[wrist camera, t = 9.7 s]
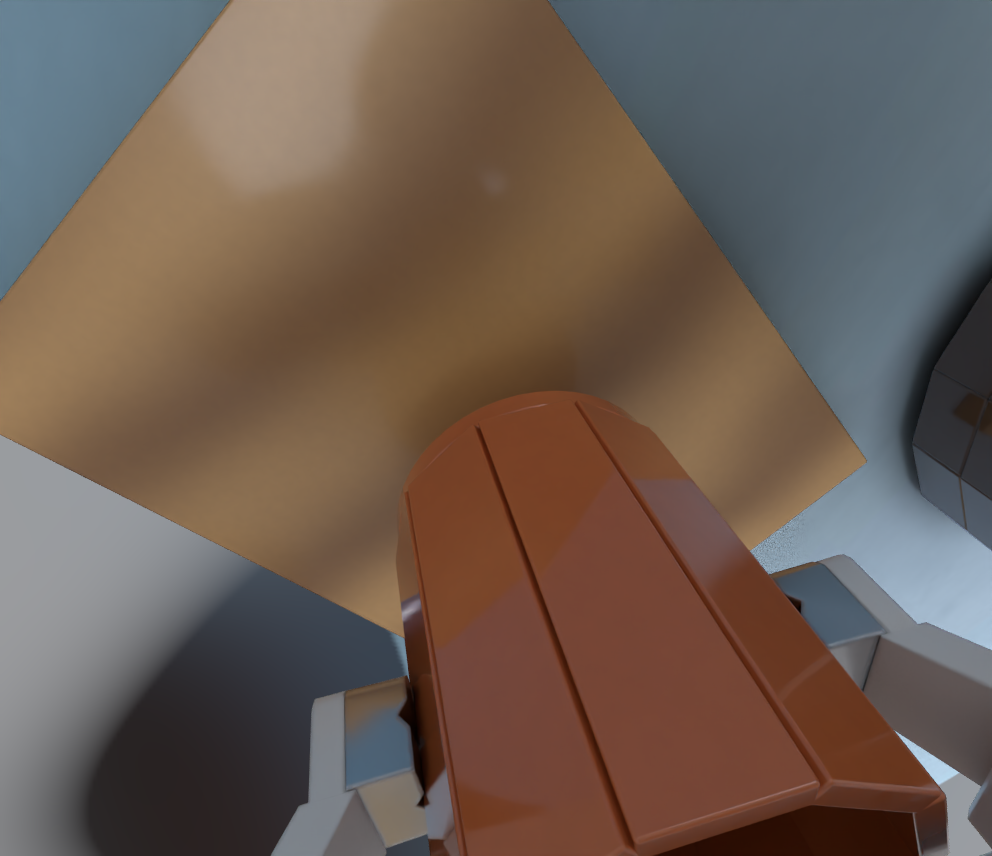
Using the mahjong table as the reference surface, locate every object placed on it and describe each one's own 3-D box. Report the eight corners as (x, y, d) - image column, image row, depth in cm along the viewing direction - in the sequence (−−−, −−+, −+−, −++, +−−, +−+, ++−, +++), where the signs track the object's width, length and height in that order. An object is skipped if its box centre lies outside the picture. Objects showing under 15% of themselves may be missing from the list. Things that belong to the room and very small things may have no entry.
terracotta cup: (358, 430, 12) (390, 920, 5) (666, 358, 13) (1032, 717, 6) (421, 632, 15) (488, 1090, 9) (662, 567, 16) (896, 946, 9)
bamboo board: (-45, 372, 14) (-75, 398, 13) (390, -196, 11) (397, -219, 10) (533, 680, 24) (542, 708, 23) (843, 441, 21) (868, 461, 20)
